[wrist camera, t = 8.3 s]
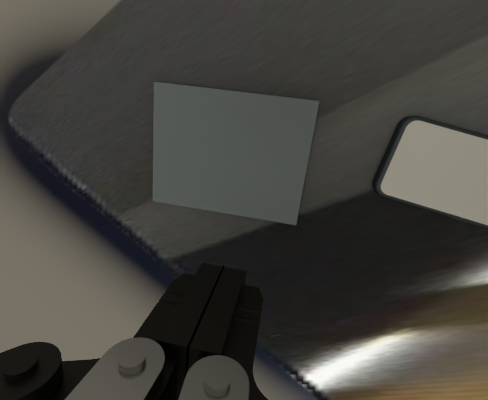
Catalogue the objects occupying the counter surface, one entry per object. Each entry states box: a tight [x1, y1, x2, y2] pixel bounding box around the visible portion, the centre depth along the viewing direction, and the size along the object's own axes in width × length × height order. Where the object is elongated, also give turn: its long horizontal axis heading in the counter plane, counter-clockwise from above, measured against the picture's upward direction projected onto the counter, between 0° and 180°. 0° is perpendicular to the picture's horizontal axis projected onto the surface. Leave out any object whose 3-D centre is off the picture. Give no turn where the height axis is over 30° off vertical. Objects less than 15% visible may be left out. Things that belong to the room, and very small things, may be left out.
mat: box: [153, 82, 320, 225], centre depth 33 cm, size 18×14×1 cm
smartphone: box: [373, 116, 488, 228], centre depth 30 cm, size 9×2×16 cm
